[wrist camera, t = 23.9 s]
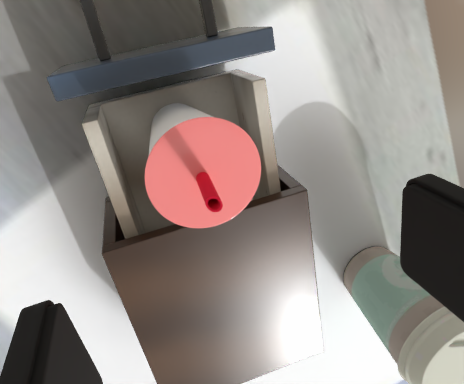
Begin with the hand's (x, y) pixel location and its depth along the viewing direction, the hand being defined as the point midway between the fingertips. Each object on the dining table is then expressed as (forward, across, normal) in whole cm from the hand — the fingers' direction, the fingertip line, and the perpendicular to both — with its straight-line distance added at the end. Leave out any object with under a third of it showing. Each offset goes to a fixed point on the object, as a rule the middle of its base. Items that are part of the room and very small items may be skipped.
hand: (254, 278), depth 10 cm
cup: (+17, -1, 0) cm, 17 cm away
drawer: (+18, -1, -1) cm, 18 cm away
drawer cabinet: (+19, -1, +12) cm, 22 cm away
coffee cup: (+18, -16, +20) cm, 32 cm away
